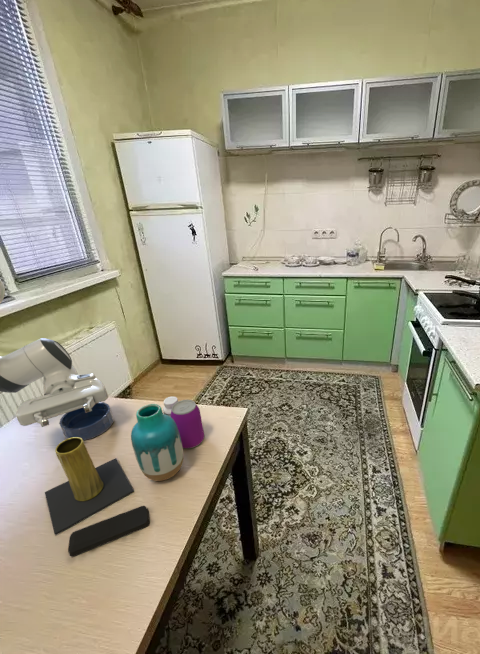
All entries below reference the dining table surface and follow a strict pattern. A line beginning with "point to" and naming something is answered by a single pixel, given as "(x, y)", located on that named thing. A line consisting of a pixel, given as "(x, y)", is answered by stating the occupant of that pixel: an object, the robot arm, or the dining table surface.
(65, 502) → the mat
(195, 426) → the beverage can
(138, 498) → the dining table surface
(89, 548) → the remote control
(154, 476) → the vase
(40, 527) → the dining table surface
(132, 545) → the dining table surface
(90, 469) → the vase
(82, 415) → the bowl
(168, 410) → the pill bottle
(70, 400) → the robot arm
